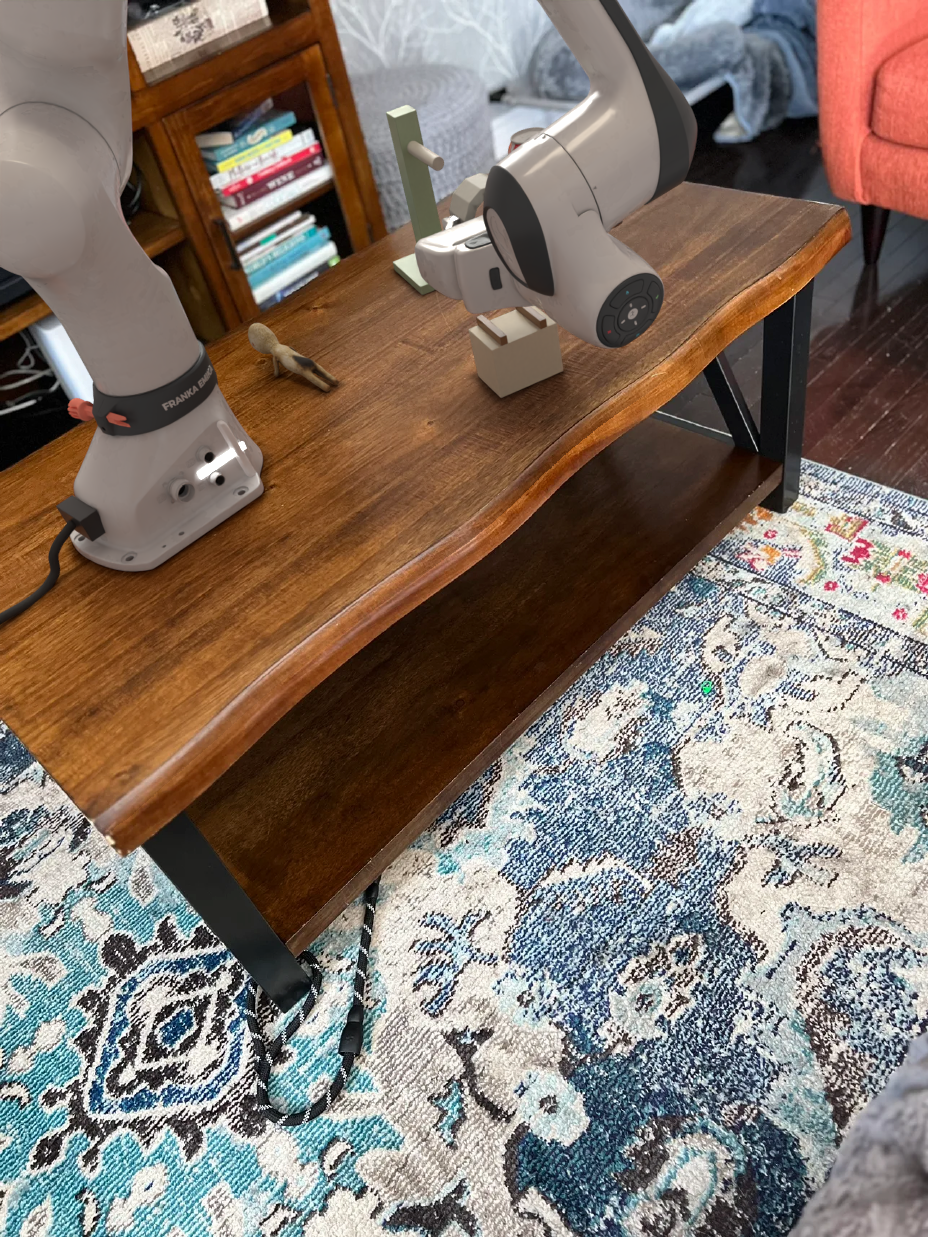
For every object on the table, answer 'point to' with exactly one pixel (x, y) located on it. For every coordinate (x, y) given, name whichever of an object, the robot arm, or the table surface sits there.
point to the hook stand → (415, 186)
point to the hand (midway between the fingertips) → (482, 210)
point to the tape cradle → (516, 349)
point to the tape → (468, 197)
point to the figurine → (287, 356)
